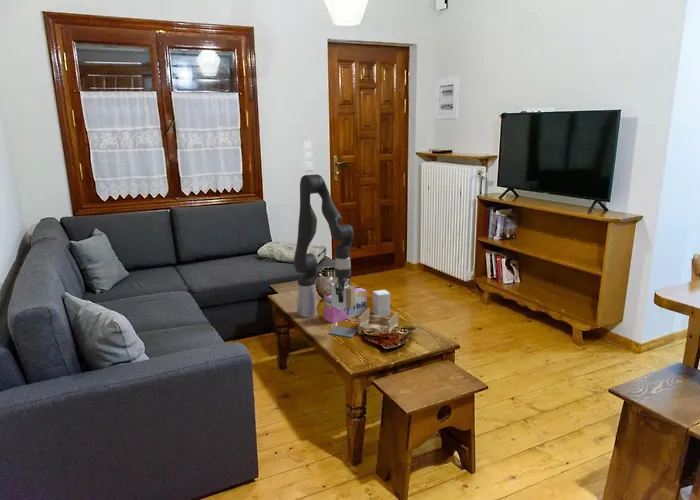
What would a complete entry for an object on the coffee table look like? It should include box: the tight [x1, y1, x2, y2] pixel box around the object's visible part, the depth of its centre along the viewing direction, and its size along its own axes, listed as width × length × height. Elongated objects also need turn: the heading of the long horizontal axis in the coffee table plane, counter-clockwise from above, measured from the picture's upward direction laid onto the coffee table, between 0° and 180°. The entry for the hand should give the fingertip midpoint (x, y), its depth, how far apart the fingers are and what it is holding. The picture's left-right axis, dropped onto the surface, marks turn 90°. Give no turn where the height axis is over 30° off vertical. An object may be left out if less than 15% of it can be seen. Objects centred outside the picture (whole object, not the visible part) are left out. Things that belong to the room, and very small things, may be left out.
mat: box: [328, 325, 358, 339], centre depth 242 cm, size 12×9×1 cm
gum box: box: [323, 286, 368, 324], centre depth 261 cm, size 24×8×14 cm, turn 126°
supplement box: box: [372, 289, 391, 317], centre depth 263 cm, size 7×7×13 cm
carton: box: [357, 307, 399, 335], centre depth 244 cm, size 16×16×8 cm
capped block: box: [330, 283, 356, 309], centre depth 238 cm, size 10×5×10 cm, turn 68°
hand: (343, 300), depth 238 cm, fingers closed on capped block, 5 cm apart
